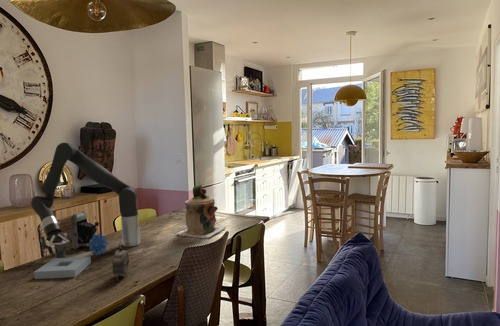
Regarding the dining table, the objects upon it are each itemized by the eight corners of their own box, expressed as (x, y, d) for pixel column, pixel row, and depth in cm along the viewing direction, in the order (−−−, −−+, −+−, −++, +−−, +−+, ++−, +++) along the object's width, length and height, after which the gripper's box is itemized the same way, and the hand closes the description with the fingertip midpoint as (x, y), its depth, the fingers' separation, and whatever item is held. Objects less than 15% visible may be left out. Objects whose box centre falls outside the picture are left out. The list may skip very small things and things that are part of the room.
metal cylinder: (68, 258, 192) (66, 239, 191) (63, 261, 187) (62, 242, 187) (58, 258, 192) (57, 240, 191) (53, 262, 187) (52, 243, 186)
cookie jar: (174, 236, 227) (171, 185, 225) (194, 226, 250) (192, 180, 247) (209, 239, 218) (207, 186, 215) (227, 228, 241) (225, 180, 238)
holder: (90, 263, 183) (90, 256, 183) (75, 277, 165) (74, 269, 165) (54, 264, 183) (53, 258, 182) (34, 279, 165) (34, 271, 165)
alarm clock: (119, 272, 169) (117, 238, 167) (131, 272, 169) (129, 237, 168) (112, 282, 158) (110, 245, 156) (125, 281, 158) (123, 244, 157)
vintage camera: (95, 250, 205) (94, 215, 204) (71, 249, 208) (70, 214, 207) (105, 245, 215) (105, 212, 213) (82, 244, 218) (81, 211, 216)
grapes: (113, 253, 198) (112, 231, 197) (105, 257, 191) (103, 235, 190) (96, 251, 201) (94, 230, 200) (87, 256, 195) (85, 233, 194)
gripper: (37, 225, 188) (47, 251, 181) (66, 219, 199) (77, 244, 192) (35, 233, 192) (44, 259, 185) (63, 227, 203) (73, 252, 196)
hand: (61, 251), depth 188 cm, fingers open, 8 cm apart
